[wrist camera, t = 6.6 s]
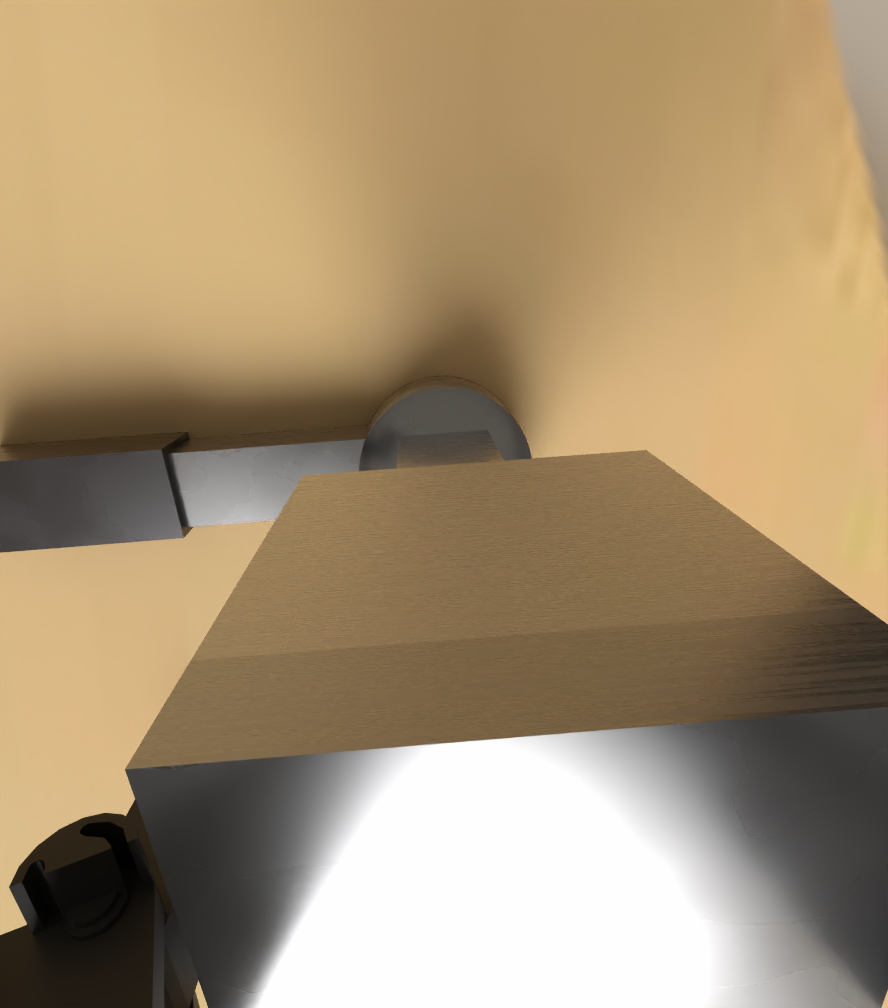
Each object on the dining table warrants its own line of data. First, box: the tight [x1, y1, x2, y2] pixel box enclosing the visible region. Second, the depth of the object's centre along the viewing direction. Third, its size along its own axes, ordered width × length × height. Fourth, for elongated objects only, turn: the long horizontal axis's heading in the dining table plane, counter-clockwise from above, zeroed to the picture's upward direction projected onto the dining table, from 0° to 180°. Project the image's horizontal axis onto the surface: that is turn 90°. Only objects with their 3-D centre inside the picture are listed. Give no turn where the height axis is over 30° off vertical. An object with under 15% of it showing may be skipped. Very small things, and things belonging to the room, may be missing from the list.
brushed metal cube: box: [125, 450, 888, 1008], centre depth 10 cm, size 8×8×8 cm
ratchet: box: [0, 376, 531, 552], centre depth 22 cm, size 22×7×8 cm, turn 93°
